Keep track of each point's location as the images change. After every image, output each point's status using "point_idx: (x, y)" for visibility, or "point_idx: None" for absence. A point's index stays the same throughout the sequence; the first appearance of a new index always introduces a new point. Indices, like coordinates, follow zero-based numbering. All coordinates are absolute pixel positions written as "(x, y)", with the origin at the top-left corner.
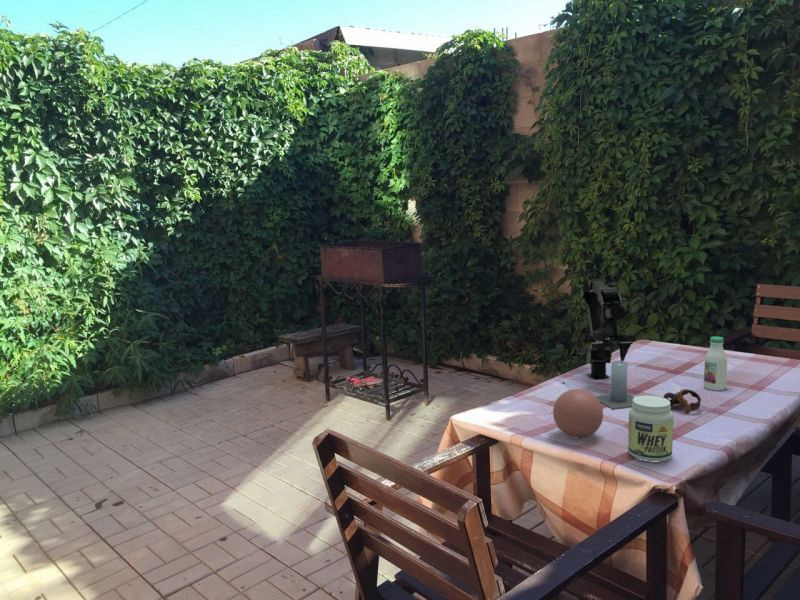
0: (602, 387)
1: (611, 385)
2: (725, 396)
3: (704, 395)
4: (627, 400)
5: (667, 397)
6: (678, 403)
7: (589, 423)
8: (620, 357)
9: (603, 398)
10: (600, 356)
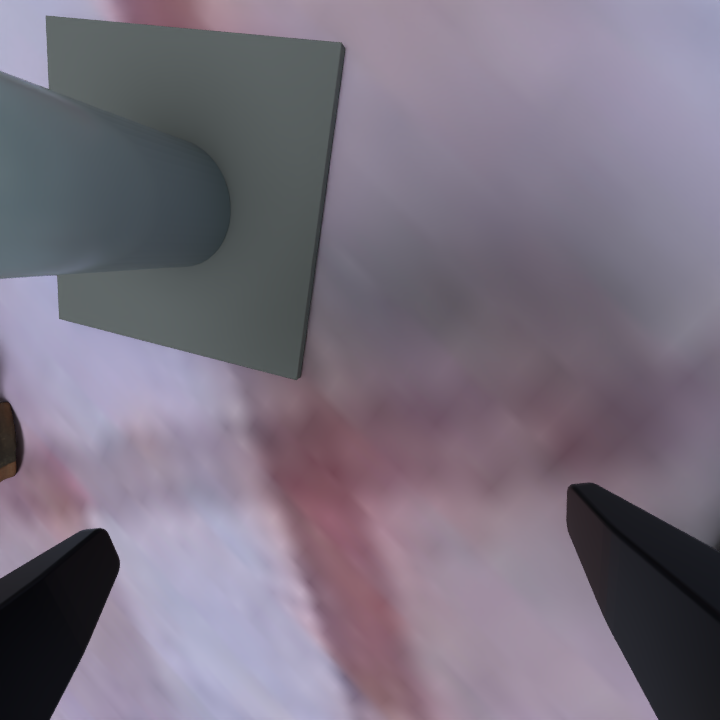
0: (520, 359)
1: (73, 98)
2: None
3: (94, 658)
4: None
5: None
6: (7, 456)
7: None
8: (40, 575)
9: (253, 116)
10: (669, 535)
